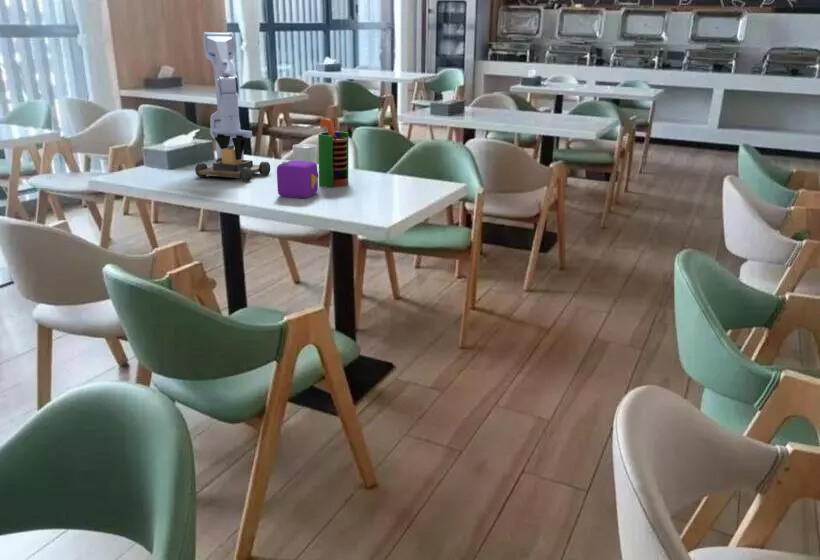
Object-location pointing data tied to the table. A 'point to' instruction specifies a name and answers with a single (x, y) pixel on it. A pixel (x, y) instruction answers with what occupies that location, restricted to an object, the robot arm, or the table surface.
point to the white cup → (305, 152)
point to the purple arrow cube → (297, 179)
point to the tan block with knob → (229, 156)
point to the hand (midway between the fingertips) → (232, 158)
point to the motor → (333, 156)
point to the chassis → (233, 169)
